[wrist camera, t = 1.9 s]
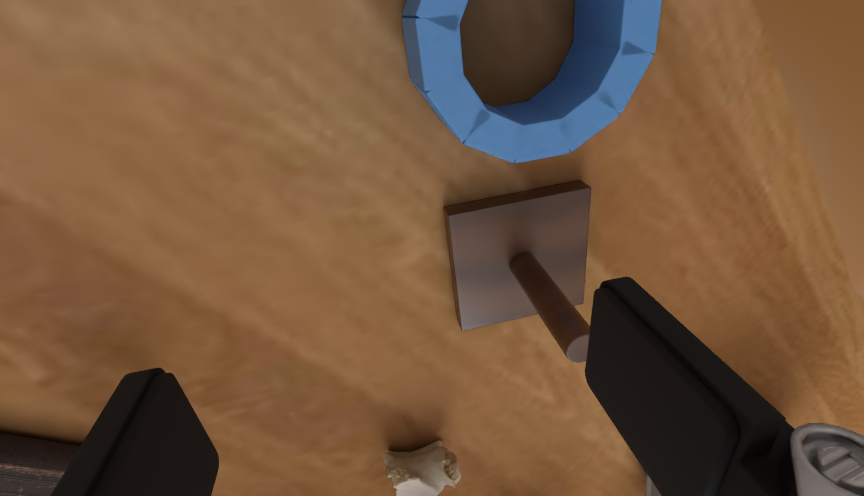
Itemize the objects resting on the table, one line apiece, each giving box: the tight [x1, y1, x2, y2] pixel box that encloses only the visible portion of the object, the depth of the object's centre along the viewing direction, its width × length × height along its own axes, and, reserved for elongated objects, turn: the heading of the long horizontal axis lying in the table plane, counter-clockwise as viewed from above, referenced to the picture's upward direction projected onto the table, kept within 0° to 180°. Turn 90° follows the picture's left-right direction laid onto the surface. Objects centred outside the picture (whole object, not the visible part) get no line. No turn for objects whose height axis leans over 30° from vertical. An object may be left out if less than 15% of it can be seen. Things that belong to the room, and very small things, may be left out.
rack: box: [444, 180, 591, 362], centre depth 27 cm, size 10×10×10 cm
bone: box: [383, 441, 461, 496], centre depth 38 cm, size 9×6×10 cm
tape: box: [402, 0, 662, 163], centre depth 22 cm, size 12×12×5 cm
